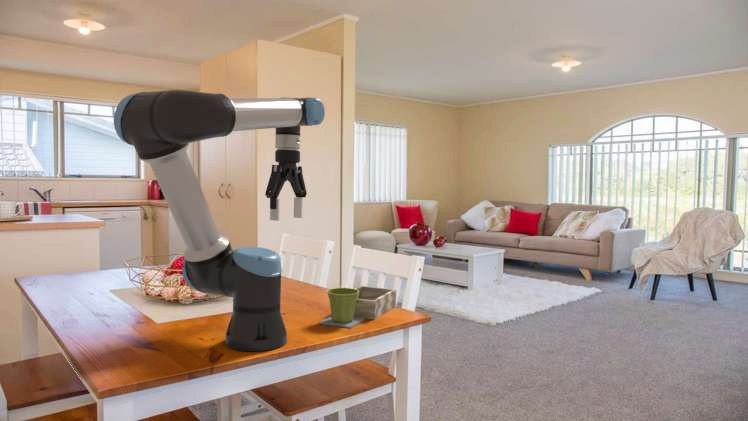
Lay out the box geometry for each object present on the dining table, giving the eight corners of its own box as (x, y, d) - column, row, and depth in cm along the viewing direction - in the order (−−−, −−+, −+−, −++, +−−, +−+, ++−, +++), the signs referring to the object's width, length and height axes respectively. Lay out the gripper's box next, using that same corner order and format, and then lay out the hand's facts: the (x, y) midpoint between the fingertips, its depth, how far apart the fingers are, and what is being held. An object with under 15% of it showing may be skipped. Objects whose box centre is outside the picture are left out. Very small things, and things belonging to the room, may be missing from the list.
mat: (350, 328, 147) (350, 326, 147) (318, 323, 150) (318, 322, 150) (364, 319, 156) (364, 318, 156) (334, 315, 160) (334, 314, 160)
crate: (374, 319, 156) (375, 301, 156) (335, 314, 161) (335, 296, 161) (395, 306, 174) (396, 289, 174) (359, 301, 179) (360, 285, 179)
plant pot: (329, 325, 147) (329, 295, 147) (323, 317, 156) (324, 288, 156) (361, 324, 150) (362, 293, 149) (354, 315, 159) (354, 287, 158)
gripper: (276, 146, 148) (274, 222, 149) (317, 152, 171) (316, 217, 172) (253, 146, 151) (252, 220, 152) (297, 152, 174) (296, 216, 175)
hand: (286, 219), depth 162 cm, fingers open, 13 cm apart
